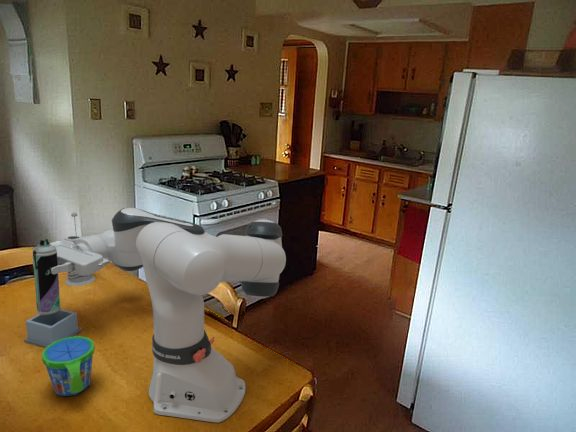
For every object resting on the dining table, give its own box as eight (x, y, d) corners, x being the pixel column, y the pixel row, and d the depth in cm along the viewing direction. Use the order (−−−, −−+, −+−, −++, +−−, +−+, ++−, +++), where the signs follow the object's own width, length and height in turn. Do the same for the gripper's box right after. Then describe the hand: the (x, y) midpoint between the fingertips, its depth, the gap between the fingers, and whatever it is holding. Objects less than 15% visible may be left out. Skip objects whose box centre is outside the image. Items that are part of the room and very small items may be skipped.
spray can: (50, 316, 110) (45, 244, 105) (32, 312, 111) (26, 241, 106) (64, 307, 115) (61, 238, 110) (47, 303, 116) (42, 235, 111)
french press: (67, 275, 152) (60, 209, 145) (102, 272, 156) (97, 208, 148) (62, 287, 143) (54, 217, 136) (99, 284, 147) (93, 216, 140)
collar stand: (82, 330, 119) (80, 312, 117) (53, 350, 110) (51, 330, 108) (54, 323, 122) (52, 305, 120) (23, 341, 112) (21, 322, 111)
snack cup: (46, 372, 101) (41, 336, 98) (94, 361, 106) (90, 326, 103) (46, 416, 88) (41, 375, 85) (101, 401, 93) (97, 362, 90)
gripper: (114, 270, 117) (69, 289, 106) (67, 254, 126) (20, 269, 114) (113, 249, 116) (67, 266, 104) (65, 234, 124) (17, 248, 113)
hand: (42, 267), depth 109 cm, fingers closed on spray can, 5 cm apart
